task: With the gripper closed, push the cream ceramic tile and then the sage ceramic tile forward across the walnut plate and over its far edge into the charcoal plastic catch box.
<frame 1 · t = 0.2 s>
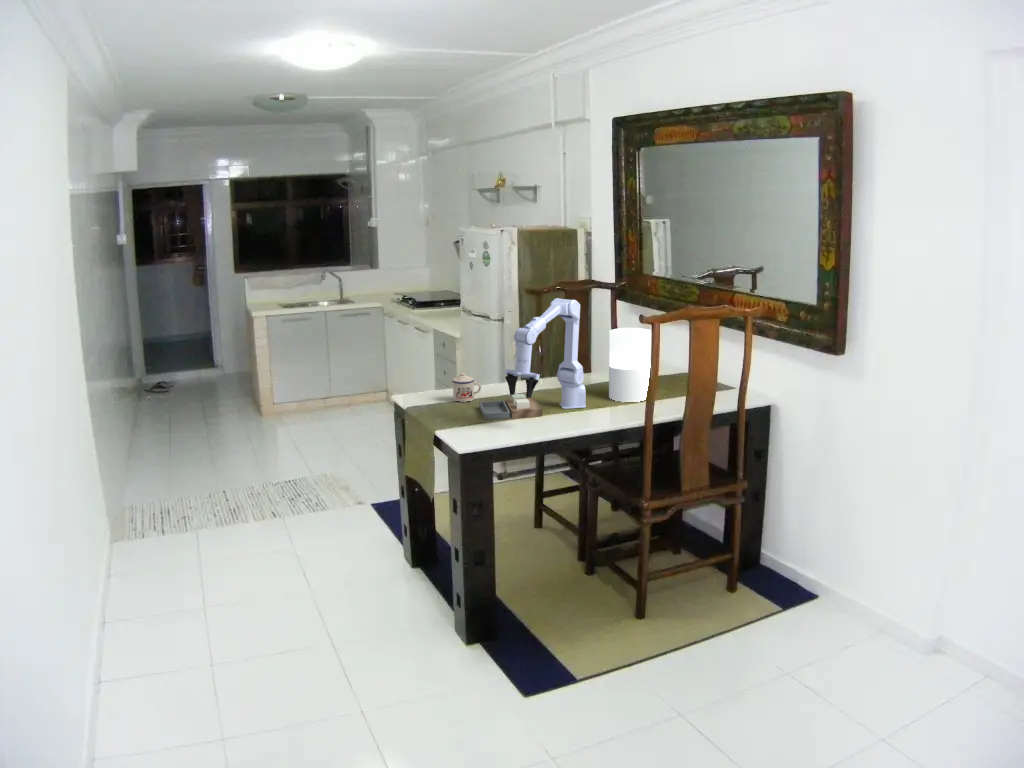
hand: (520, 396, 317), 11 cm above the table, tool pointing down, fingers open, 7 cm apart
sage tile: (518, 401, 338), point 3 cm above the table, touching walnut plate
walnut plate: (523, 411, 335), on the table
teacup with lid: (467, 400, 355), on the table
cream tile: (522, 407, 330), point 3 cm above the table, touching walnut plate
cylinder: (629, 397, 353), on the table
catch box: (494, 413, 333), on the table
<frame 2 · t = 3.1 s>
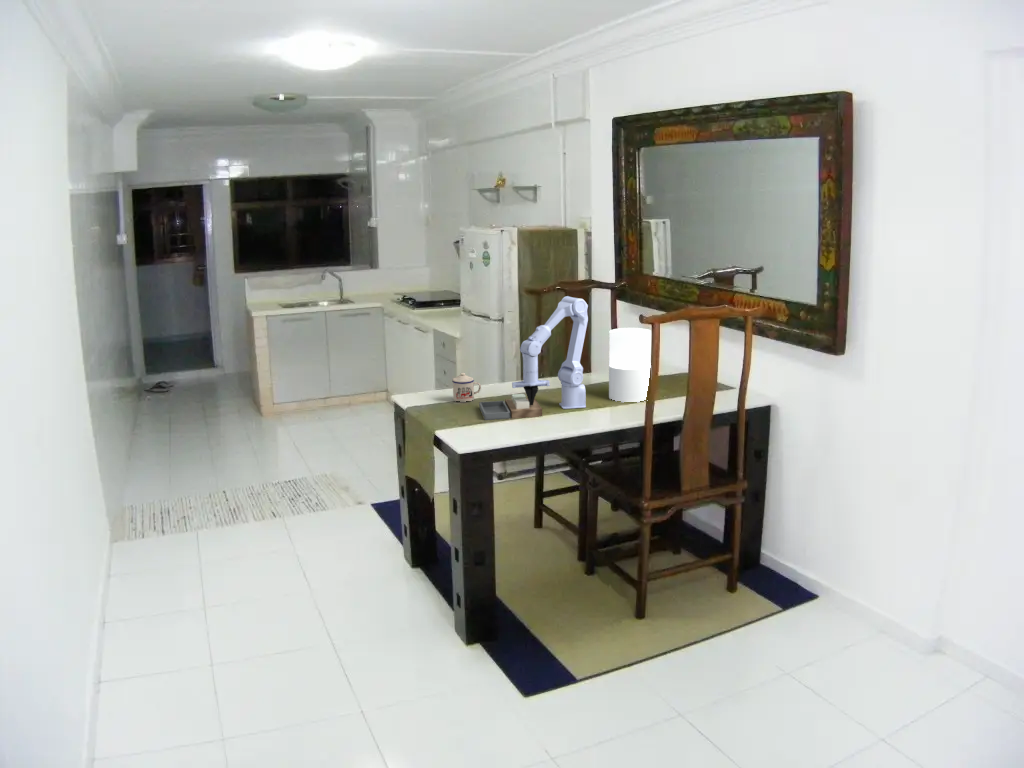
hand: (531, 404, 330), 4 cm above the table, tool pointing down, fingers closed
cream tile: (521, 407, 330), point 3 cm above the table, touching gripper, walnut plate
everything else where it was.
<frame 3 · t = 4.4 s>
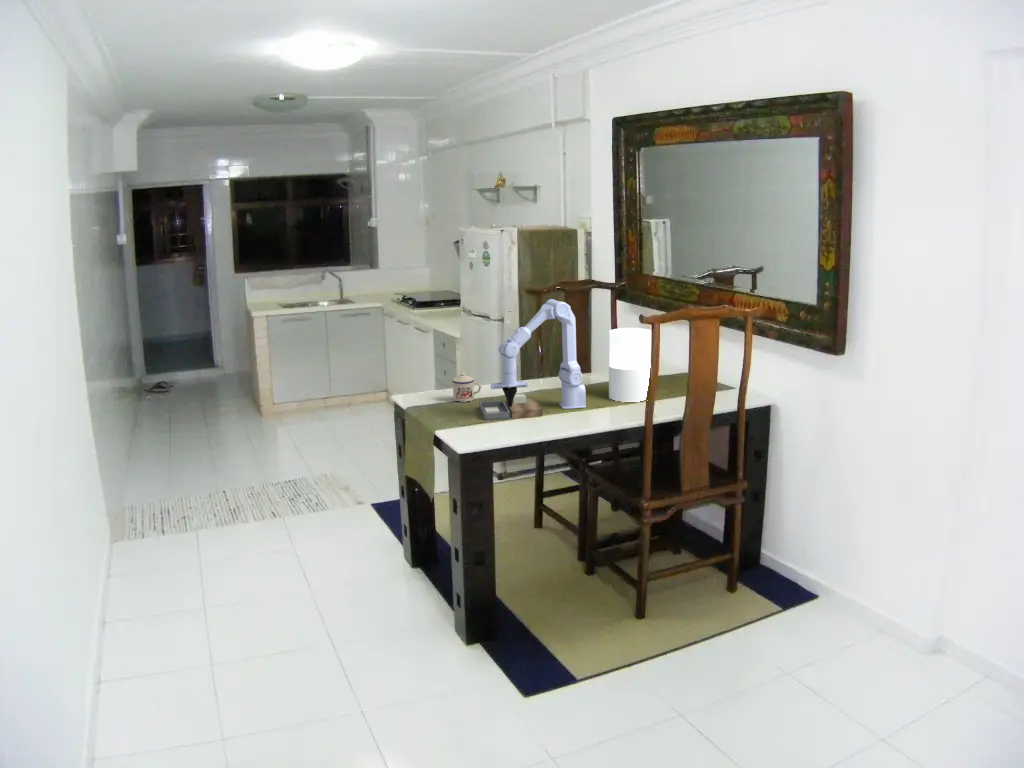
hand: (509, 406, 329), 4 cm above the table, tool pointing down, fingers closed
cream tile: (491, 409, 328), point 3 cm above the table, tilted 180°, touching catch box
everything else where it was.
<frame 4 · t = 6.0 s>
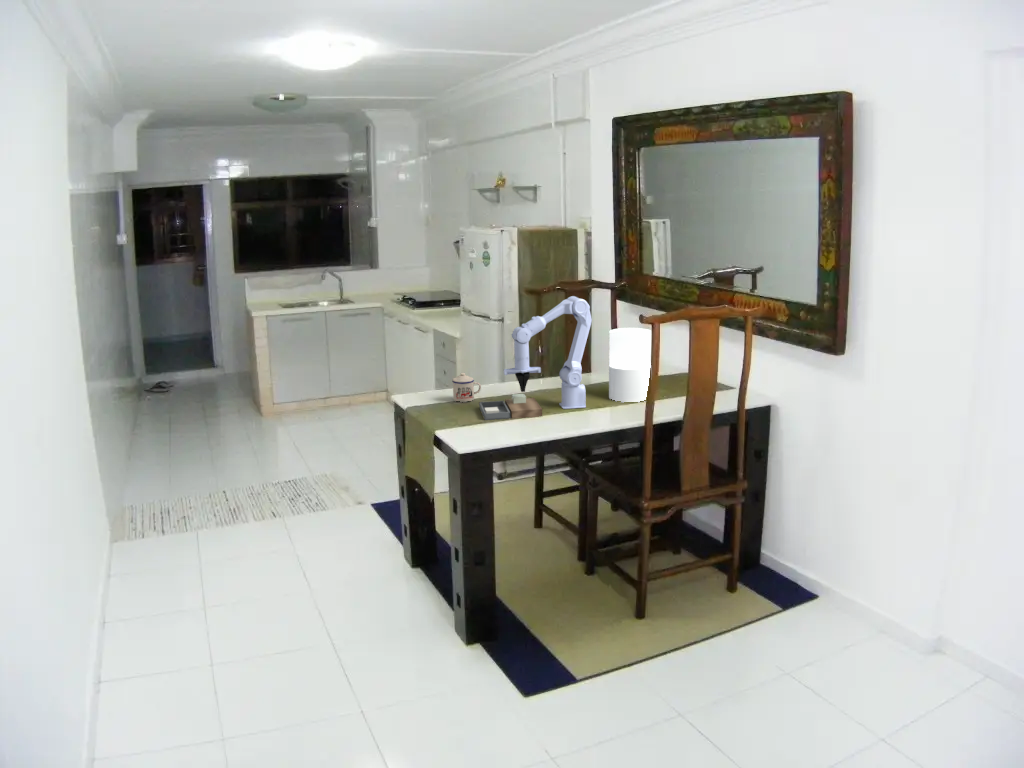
hand: (522, 391, 333), 8 cm above the table, tool pointing down, fingers closed
nothing on the table moved.
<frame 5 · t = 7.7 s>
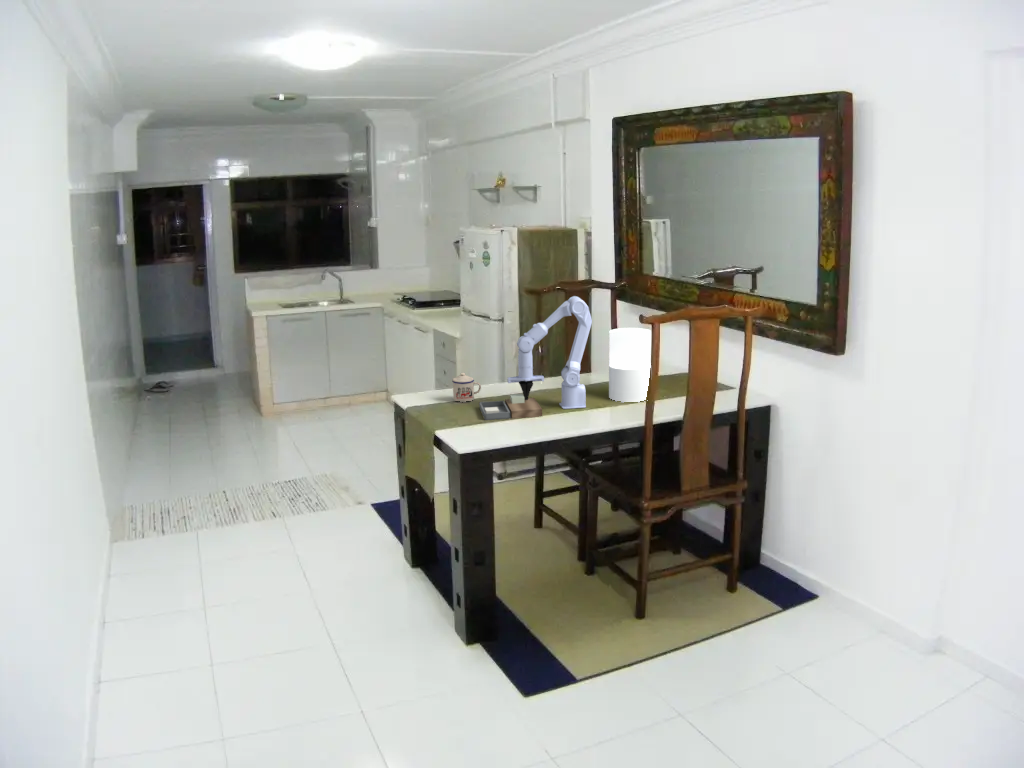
hand: (526, 399, 338), 4 cm above the table, tool pointing down, fingers closed
sage tile: (517, 401, 338), point 3 cm above the table, touching gripper, walnut plate
everything else where it was.
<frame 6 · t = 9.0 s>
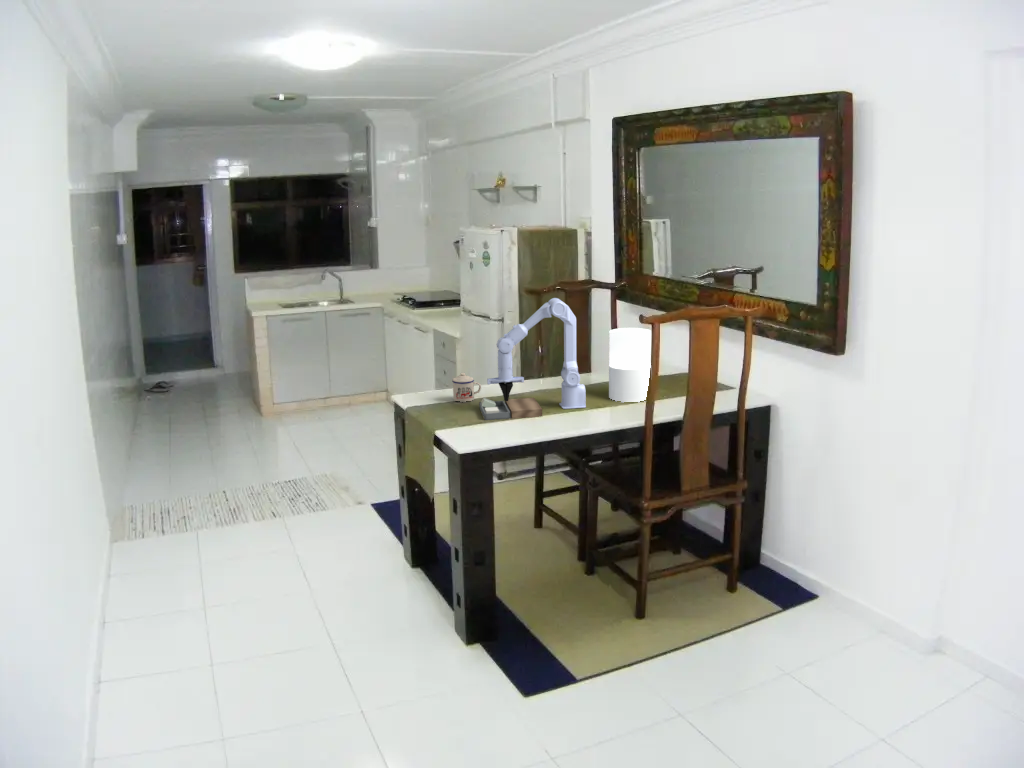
hand: (506, 400, 337), 4 cm above the table, tool pointing down, fingers closed
sage tile: (489, 400, 337), point 4 cm above the table, tilted 156°, touching catch box
everything else where it was.
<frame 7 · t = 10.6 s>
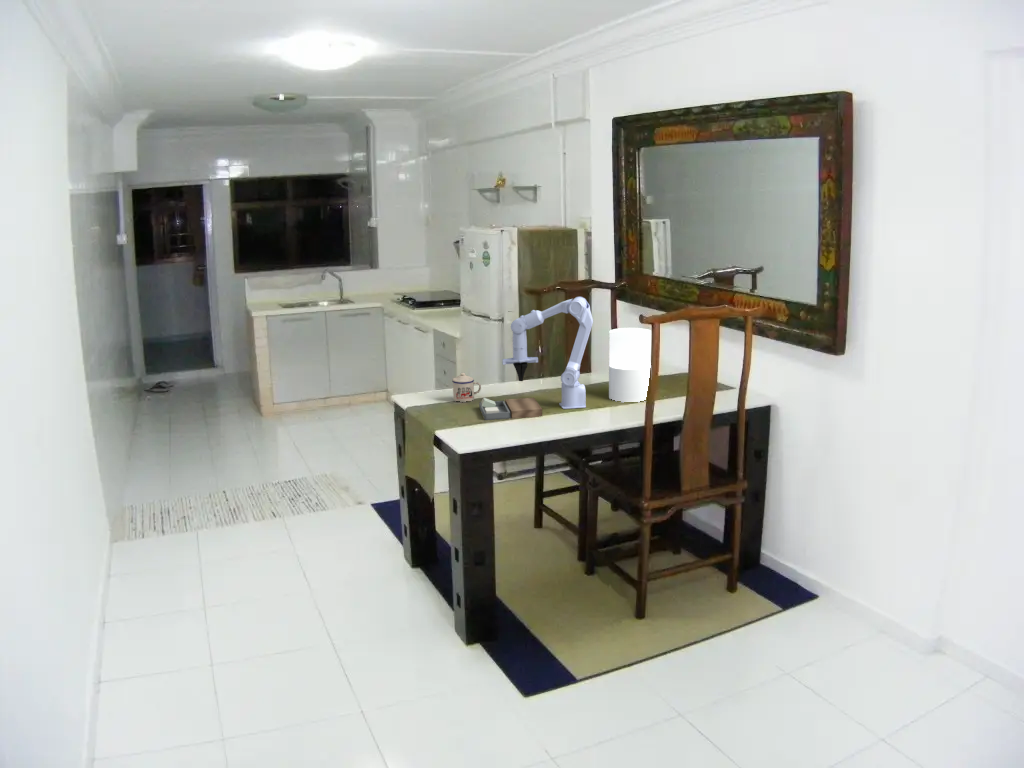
hand: (520, 380, 344), 10 cm above the table, tool pointing down, fingers closed
nothing on the table moved.
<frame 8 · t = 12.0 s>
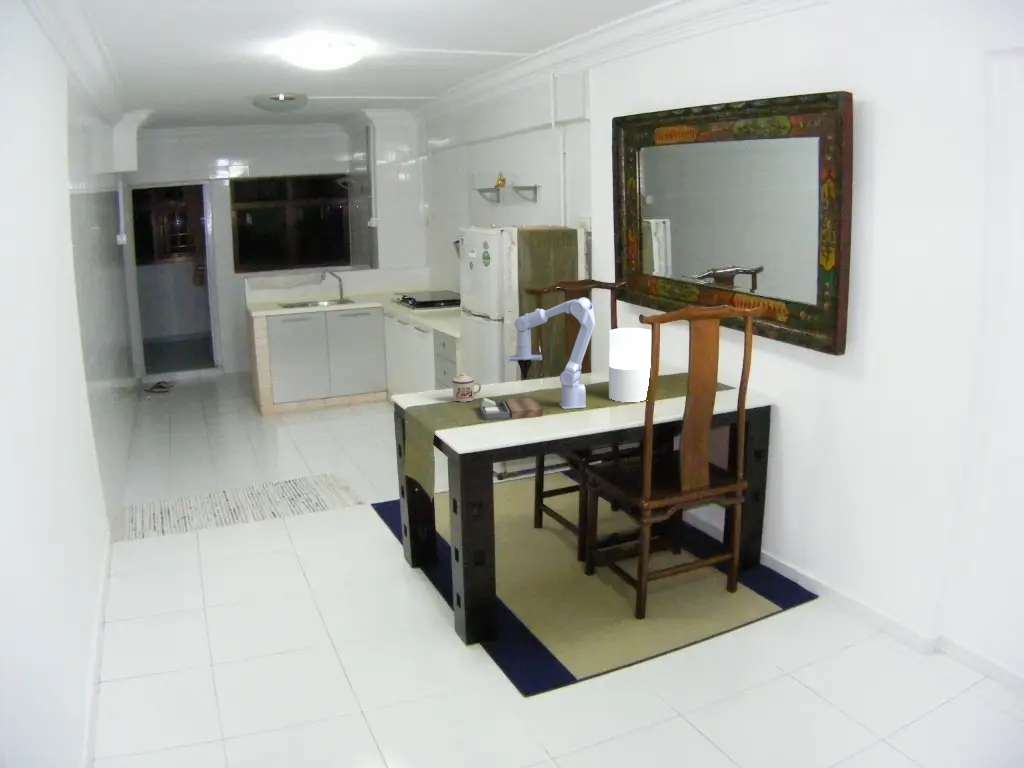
hand: (524, 378, 346), 10 cm above the table, tool pointing down, fingers closed
nothing on the table moved.
at the end: cream tile inside the target area (4.4 cm from its centre), point 3.0 cm above the table; sage tile inside the target area (4.8 cm from its centre), point 3.8 cm above the table; teacup with lid moved 0.2 cm from its start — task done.
